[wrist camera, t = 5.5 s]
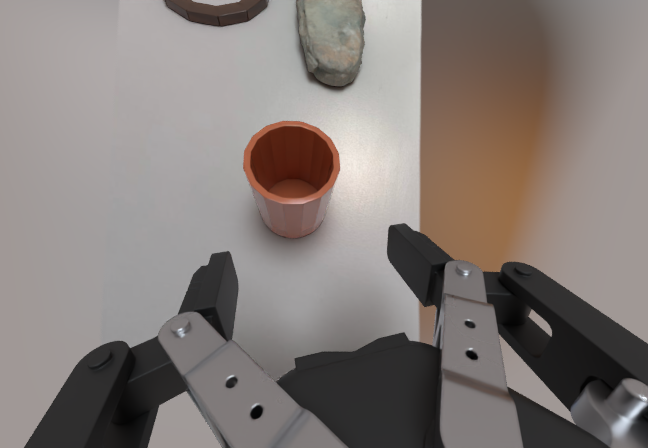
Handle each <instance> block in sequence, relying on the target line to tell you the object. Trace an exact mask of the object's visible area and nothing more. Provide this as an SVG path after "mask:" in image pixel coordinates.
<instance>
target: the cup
mask: <svg viewBox="0 0 648 448" xmlns="http://www.w3.org/2000/svg"><path fill="white" fill-rule="evenodd" d="M243 169H244V172H245V174H246V177H247V180H248V182H249V185H250V188H251V190H252V193H253V195H254V198H255V201H256V203H257V206H258V209H259V211H260V214H261V216H262V219H263V221H264V223H265V224H266V225H267V227H268V228H269V229H270V230H271V231H273V232H274V233H276V234H278V235H280V236H283V237H287V238H299V237H304V236H306V235H309V234H311V233H312V232H313V231H315V230H316V229H317V228H318V227H319V226H320V224H321V223H322V221H323V219H324V216H325V213H326V211H327V208H328V205H329V202H330V199H331V196H332V193H333V190H334V186H335V183H336V180H337V177H338V174H339V171H340V162H339V153H338V151H337V149H336V147H335V145H334V144H333V142H332V140H331V139H330V138H329V137H328V136H327V135H326V134H325V133H323V132H322V131H321V130H320V129H319V128H317V127H314V126H312V125H309V124H306V123H304V122H300V121H281V122H278V123H274V124H271V125H268V126H266V127H264V128H263V129H262V130H260V131H259V132H258V133H256V134H255V135H254V136H253V137H252V138H251V140H250V142H249V144H248V145H247V147H246V149H245V151H244V163H243Z"/></svg>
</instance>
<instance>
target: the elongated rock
mask: <svg viewBox="0 0 648 448" xmlns="http://www.w3.org/2000/svg"><path fill="white" fill-rule="evenodd" d="M361 1H362V0H296V7H297V12H298V20H299V35H300V40H301V44H302V45H303V49H304V53H305V58H306V60H305V61H306V63H307V66H308V71H309V72H313V73H314V74H315V77H316V78H317V79H318V80H319V81H321V82H323V83H325V84H328V85H331V86H344V85H346V84H347V83H350V82H351V81H353V79H354V78H355V76H356V74H357V72H358V70H359V68H360V65H361V64H362V61H361V57H362V52H363V48H364V45H365V42H364V37H363V35H364V31H363V28H364V24H365V20H366V19H365V15H364V11H363V7H362V2H361Z"/></svg>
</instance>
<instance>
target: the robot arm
mask: <svg viewBox="0 0 648 448" xmlns="http://www.w3.org/2000/svg"><path fill="white" fill-rule="evenodd" d="M387 255H388V259H389V261H390V263H391V264H392V265H393V267H394V268H395V269H396V271H397V272H398V273H399V274H400V276H401V277H402V278H403V280H404V281H405V282H406V284H407V285H408V286H409V287H410V289H411V290H412V291H413V293H414V294H415V295H416V297H417V298H418V299H419V301H420V302H421V303H422V304H423V306H424V307H427V306H431V305H435V306H436V307H437V309H436V314H435V325H434V335H433V345H429V344H425V343H421V342H415V341H409V339H408V338H407V336H406V334H405V333H399V334H395V335H391V336H387V337H383V338H379V339H377V340H375V341H373V342H371V343H369V344H367V345H366V346H364V347H362V348H360V349H358V350H356V351H353V352H319V353H315V354H311V355H307V356H303V357H298V358H295V365H296V368H295V369H293V370H291V371H290V372H288V373H287V374H285V375H284V376H283V377H282V378H280V379H279V380H278V381H277V382H275V381H274V380H273V379H272V378H271V377H270V376H269V375H268V374H267V373H266V372H265V371H264V370H263V369H262V368H261V367H260V366H259V365H258V364H257V363H256V362H255V361H254V360H253V359H252V358H251V357H250V356H249V355H248V354H247V353H246V352H245V351H244V350H243V349H242V348H241V347H240V346H239V345H238V344H237V343H236V342H235V341H233V340H232V336H233V328H234V320H235V312H236V304H237V297H238V279H237V275H236V271H235V268H234V264H233V261H232V257H231V254H230V252H229V251H227V252H220V253H214V254H212V255H211V258H210V261H209V264H208V265H206V266H201V267H200V268H199V269H198V270H197V271H196V272H195V273H194V274H193V277H192V280H191V282H190V283H191V284H190V285H189V287H188V291H187V292H186V295H185V297H184V300H183V303H182V305H181V308H180V310H179V313H178V315H176V316H175V317H173V318H171V319H170V320H168V321H167V322H166V323H165V324H164V325H163V326H162V328H161V329H160V331H159V333H158V336H157V337H155V338H153V339H151V340H148V341H146V342H144V343H141V344H139V345H137V346H134V347H132V348H130V347H129V346H128V344H127V343H126V342H123V341H114V342H110V343H106V344H104V345H102V346H100V347H98V348H96V349H94V350H93V351H91V352H90V353H89V354H87V355H86V356H85V357H84V358H83V359H81V360H80V362H79V363H78V364H77V365H76V367H75V368H74V369H73V371H72V373H71V374H70V376H69V377H68V379H67V381H66V382H65V384H64V385H63V387H62V388H61V390H60V392H59V393H58V395H57V396H56V398H55V400H54V401H53V403H52V405H51V406H50V408H49V409H48V411H47V412H46V414H45V415H44V417H43V418H42V420H41V422H40V423H39V425H38V426H37V428H36V430H35V431H34V433H33V434H32V436H31V437H30V439H29V441H28V442H27V444H26V445H25V447H24V448H147V447H148V443H149V440H150V436H151V433H152V429H153V425H154V422H155V419H156V415H157V412H158V408H159V405H161V404H162V403H164V402H166V401H168V400H170V399H172V398H174V397H175V396H177V395H179V394H181V393H183V392H185V391H187V393H188V394H189V396H190V397H191V399H192V400H193V402H194V403H195V405H196V407H197V408H198V410H199V411H200V412H201V414H202V416H203V417H204V419H205V421H206V422H207V424H208V425H209V427H210V428H211V430H212V431H213V433H214V435H215V437H216V438H217V440H218V442H219V443H220V445H221V447H222V448H648V344H647V343H646V342H644V341H643V340H641V339H640V338H638V337H637V336H635V335H634V334H632V333H631V332H630V331H628V330H627V329H625V328H623V327H622V326H621V325H619V324H618V323H616V322H615V321H613V320H612V319H610V318H609V317H607V316H606V315H604V314H603V313H601V312H600V311H599V310H597V309H595V308H594V307H592V306H591V305H590V304H588V303H587V302H585V301H583V300H582V299H581V298H579V297H578V296H576V295H575V294H573V293H572V292H570V291H569V290H567V289H566V288H565V287H563V286H561V285H560V284H558V283H557V282H556V281H554V280H553V279H551V278H550V277H548V276H547V275H545V274H544V273H542V272H541V271H539V270H537V269H536V268H534V267H532V266H530V265H527V264H524V263H519V262H507V263H504V264H503V265H502V268H501V271H500V272H482V270H481V269H480V268H479V267H478V266H476V265H474V264H472V263H470V262H467V261H462V260H454V259H453V258H451V257H450V256H449V255H448V254H447V253H445V252H444V251H443V250H442V249H441V248H439V247H438V246H437V245H436V244H435V243H434V242H432V241H431V240H430V239H429V238H428V237H427V236H426V235H424V234H422V233H420V232H417V231H413V230H412V229H411V228H410V227H409V226H408V225H407V224H405V223H403V224H396V225H391V226H390V227H389V230H388V245H387ZM531 309H533V310H534V311H535V312H536V313H537V314H538V315H540V316H541V317H542V318H543V319H544V320H545V321H547V323H548V324H549V325H550V327H551V329H552V337H550V336H549V335H548V334H547V333H546V332H545V331H544V330H542V329H541V328H540V327H539V326H538V325H537V324H536V323H535V322H534V321H532V320H531V319H530V318H529V317H528V316H529V314H530V311H531ZM498 333H499V334H500V335H501V337H502V338H503V339H504V340H505V341H506V342H507V343H508V344H509V345H510V346H511V347H512V349H513V350H514V351H515V352H516V353H517V354H518V355H519V356H520V357H521V358H522V359H523V361H524V362H525V363H526V364H527V365H528V366H529V367H530V368H531V369H532V370H533V371H534V373H535V374H536V375H537V376H538V377H539V378H540V379H541V380H542V381H543V382H544V383H545V385H546V386H547V387H548V388H549V389H550V390H551V391H552V392H553V393H554V394H555V396H556V397H557V398H558V399H559V400H560V401H561V402H562V403H563V404H564V405H565V406H566V407H567V409H568V410H569V411H570V412H571V416H572V419H573V421H574V423H575V424H576V425H575V424H573V423H571V422H570V421H568V420H566V419H564V418H562V417H560V416H559V415H557V414H555V413H553V412H552V411H550V410H548V409H546V408H545V407H543V406H541V405H539V404H537V403H536V402H534V401H532V400H530V399H529V398H527V397H525V396H523V395H521V394H519V393H518V392H516V391H514V390H513V389H511V388H509V387H507V382H506V376H505V370H504V364H503V358H502V352H501V346H500V340H499V334H498Z"/></svg>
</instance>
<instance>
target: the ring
mask: <svg viewBox="0 0 648 448" xmlns="http://www.w3.org/2000/svg"><path fill="white" fill-rule="evenodd" d="M165 2H166V4H167V6H168V7H169V8H171V9H172V10H174V11H175V12H177V13H178V14H180V15H181V16H183V17H185V18H186V19H188V20H189V21H192V22H198V23H204V24H210V25H216V26H224V25H230V24H235V23H240V22H245V21H248V20H250V19H251V18H253V17H254V16H255V15H257V14H258V13H259V12H261V11H262V10H263V9H265V8H266V7H267V4H268V0H241V1H240V2H236V3H231V4H225V5H219V6H214V5H208V4H203V3H197V2H193V1H192V0H165Z"/></svg>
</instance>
